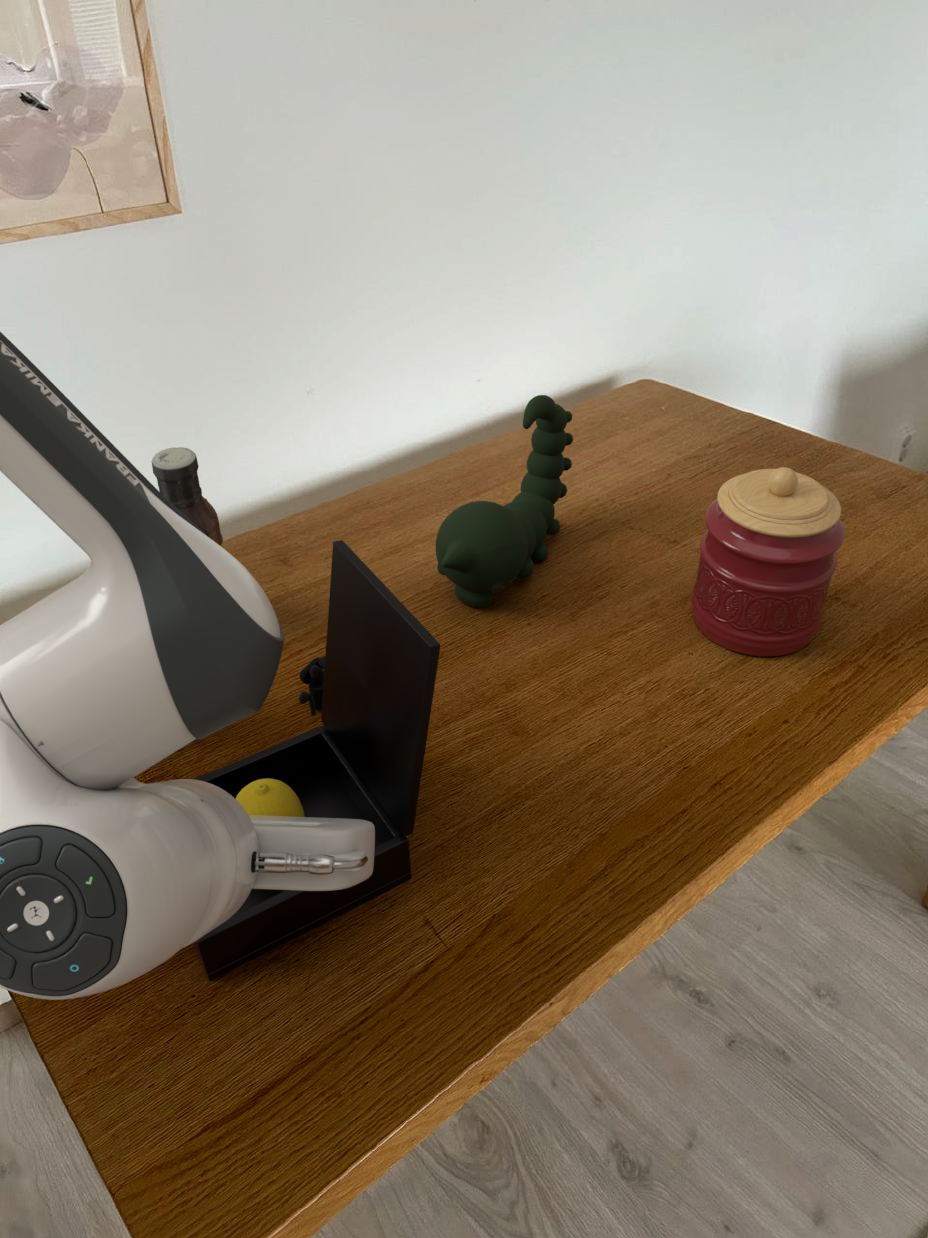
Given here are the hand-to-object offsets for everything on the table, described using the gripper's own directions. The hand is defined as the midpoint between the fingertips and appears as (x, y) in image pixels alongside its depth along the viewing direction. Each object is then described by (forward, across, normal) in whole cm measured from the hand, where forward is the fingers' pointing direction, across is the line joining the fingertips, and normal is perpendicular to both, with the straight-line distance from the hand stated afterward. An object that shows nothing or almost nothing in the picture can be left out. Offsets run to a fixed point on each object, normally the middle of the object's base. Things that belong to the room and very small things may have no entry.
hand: (243, 834), depth 68 cm
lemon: (+10, 0, +3) cm, 10 cm away
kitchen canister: (+34, -43, -20) cm, 58 cm away
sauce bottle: (+31, +14, -18) cm, 38 cm away
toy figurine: (+39, -17, -25) cm, 49 cm away
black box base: (+10, 0, +3) cm, 11 cm away
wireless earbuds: (+24, 0, -10) cm, 26 cm away
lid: (+4, -8, -10) cm, 14 cm away
